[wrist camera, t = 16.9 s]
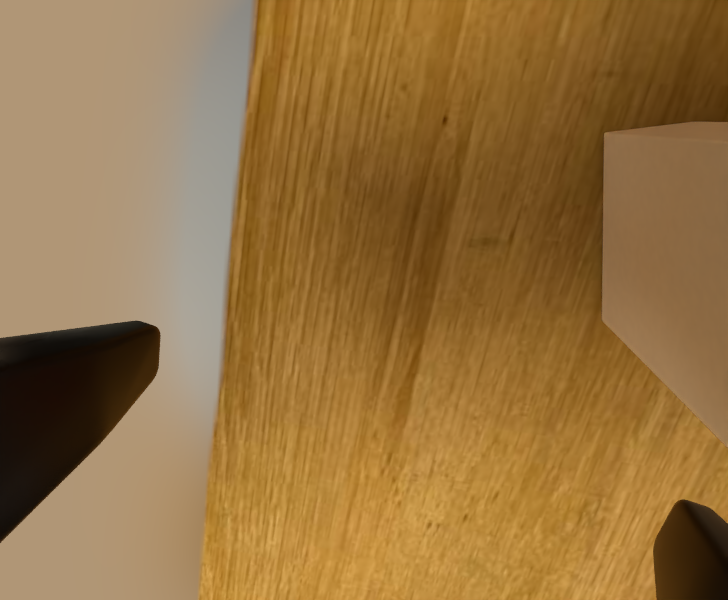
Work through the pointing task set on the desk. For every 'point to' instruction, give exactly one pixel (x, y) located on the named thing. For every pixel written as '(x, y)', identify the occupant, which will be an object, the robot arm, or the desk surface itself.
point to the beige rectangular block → (671, 258)
